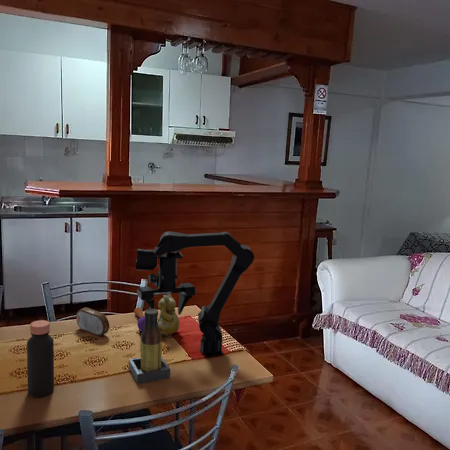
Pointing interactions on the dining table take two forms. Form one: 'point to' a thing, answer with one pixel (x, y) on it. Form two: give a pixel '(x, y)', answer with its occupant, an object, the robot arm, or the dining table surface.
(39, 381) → the dark grey water bottle
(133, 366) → the grey square tray
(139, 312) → the kendama
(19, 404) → the dining table surface
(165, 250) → the robot arm
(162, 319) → the decorative figurine
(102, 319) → the wooden speaker
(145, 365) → the sauce bottle
